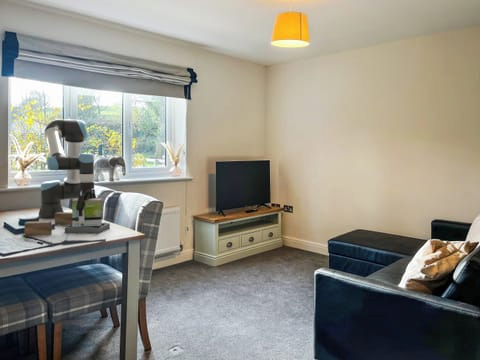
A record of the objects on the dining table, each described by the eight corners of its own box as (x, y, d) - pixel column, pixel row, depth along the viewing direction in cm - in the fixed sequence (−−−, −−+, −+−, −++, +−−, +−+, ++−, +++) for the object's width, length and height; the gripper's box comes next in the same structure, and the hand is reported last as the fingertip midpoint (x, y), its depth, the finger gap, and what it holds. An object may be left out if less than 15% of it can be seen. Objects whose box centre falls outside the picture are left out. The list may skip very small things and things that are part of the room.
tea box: (72, 227, 208) (71, 200, 206) (73, 224, 217) (72, 198, 216) (102, 226, 213) (101, 199, 212) (101, 222, 222) (101, 197, 221)
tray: (77, 227, 223) (77, 222, 223) (109, 228, 222) (109, 223, 221) (64, 232, 209) (64, 227, 209) (98, 233, 208) (98, 228, 207)
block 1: (26, 235, 204) (26, 221, 203) (51, 233, 207) (51, 221, 206) (24, 236, 200) (24, 223, 199) (50, 235, 203) (49, 222, 202)
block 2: (58, 223, 233) (58, 212, 233) (77, 224, 232) (77, 212, 232) (55, 224, 229) (54, 213, 229) (74, 225, 228) (74, 213, 228)
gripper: (90, 179, 226) (91, 215, 228) (68, 183, 201) (69, 223, 203) (103, 179, 225) (103, 215, 227) (82, 183, 200) (83, 224, 202)
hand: (87, 219), depth 215 cm, fingers open, 13 cm apart
